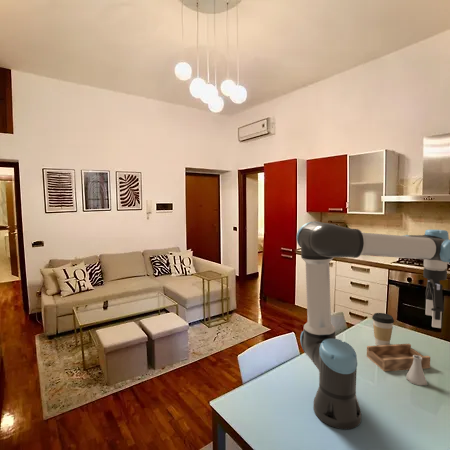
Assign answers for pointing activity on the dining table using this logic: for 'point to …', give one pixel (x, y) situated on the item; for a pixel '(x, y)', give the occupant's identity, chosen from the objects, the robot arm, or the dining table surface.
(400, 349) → the wooden tray
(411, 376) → the flask
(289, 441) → the dining table surface
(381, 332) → the coffee cup
